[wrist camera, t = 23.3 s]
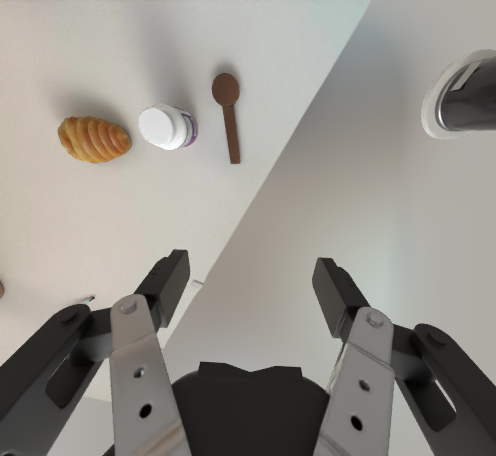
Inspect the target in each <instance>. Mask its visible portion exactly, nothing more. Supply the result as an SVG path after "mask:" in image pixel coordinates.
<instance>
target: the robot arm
mask: <svg viewBox="0 0 496 456" xmlns="http://www.w3.org/2000/svg"><path fill="white" fill-rule="evenodd" d="M435 118H436V121H437V123H438V125H439V126H440V127H441V128H442V129H444V130H446V131H453V132H454V131H474V130H477V131H481V130H496V56H494V57H491V58H487V59H482V60H479V61H476V62H473V63H470V64H468V65H466V66H464V67H463V68H461V69H460V70H459V71H457V72H456V73H455V74H454V75H453V76H452V77H451V78H450V79H449V80H448V81H447V83H446V84H445V85H444V87H443V88H442V90H441V92H440V94H439V96H438V99H437V102H436V106H435ZM189 276H190V266H189V258H188V251H187V250H177V249H174V250H173V251H172V252H171V254H170V255H169V257H164V258H162V259H161V260H159V261H158V262H157V263H156V264H155V265H154V267H153V268H152V270H151V271H150V272H149V273H148V275H147V276H146V277H145V279H144V280H143V281H142V283H141V284H140V285H139V287H138V288H137V290H136V291H135V292H134V294H132V295H128V296H126V297H123V298H122V299H120V300H118V301H117V302H116V303H115V304H114V305H113V306H112V307H111V308H106V309H101V310H96V311H91V310H90V308H89V306H87V305H85V304H76V305H72V306H69V307H66V308H64V309H62V310H60V311H59V312H57V313H56V314H54V315H53V316H52V317H51V318H50V319H49V320H48V321H47V322H46V323H45V324H44V325H43V326H42V327H41V328H40V329H39V330H38V331H37V332H36V333H35V334H34V335H33V336H31V337H30V338H29V339H28V340H27V341H26V342H25V343H24V344H23V345H22V346H21V347H20V348H19V349H18V350H17V351H16V352H15V353H14V354H13V355H12V356H11V357H10V358H9V359H8V360H7V361H6V362H5V363H4V364H3V365H2V366H1V367H0V456H47V454H48V452H49V451H50V449H51V447H52V446H53V444H54V442H55V441H56V439H57V437H58V436H59V434H60V432H61V431H62V429H63V427H64V426H65V424H66V422H67V421H68V419H69V417H70V416H71V414H72V412H73V411H74V409H75V407H76V406H77V404H78V402H79V401H80V399H81V397H82V396H83V394H84V392H85V391H86V389H87V387H88V386H89V384H90V382H91V381H92V379H93V377H94V376H95V374H96V372H97V371H98V369H99V367H100V366H101V364H102V362H103V361H104V359H107V358H109V362H110V379H111V395H112V410H113V425H114V426H113V427H114V444H113V445H112V446H111V447H110V449H108V450H107V452H105V453H104V455H103V456H388V450H389V438H390V426H391V415H392V402H393V391H394V379H395V380H396V382H397V384H398V386H399V388H400V390H401V392H402V394H403V396H404V398H405V400H406V401H407V403H408V406H409V407H410V409H411V411H412V413H413V415H414V417H415V419H416V421H417V423H418V425H419V427H420V428H421V431H422V432H423V434H424V436H425V438H426V440H427V442H428V444H429V446H430V448H431V450H432V452H433V453H434V456H496V386H495V385H494V384H493V383H492V382H491V381H490V380H489V378H488V377H486V375H485V374H484V373H483V372H482V371H481V370H480V369H479V367H478V366H477V365H476V364H475V363H474V362H473V361H472V360H471V359H470V358H469V356H468V355H467V354H466V353H465V352H464V351H463V350H462V349H461V347H460V346H459V345H458V344H457V343H456V342H455V341H454V340H453V339H452V338H451V337H450V336H449V335H448V334H446V333H444V332H443V331H442V330H440V329H438V328H436V327H434V326H431V325H428V324H418V325H416V326H415V328H414V329H413V330H411V329H408V328H404V327H401V326H398V325H395V324H393V323H392V322H391V321H390V319H389V318H388V317H387V316H386V315H384V314H383V313H382V312H380V311H379V310H377V309H374V308H371V306H370V305H369V303H368V302H367V300H366V299H365V297H364V296H363V294H362V293H361V291H360V290H359V288H358V287H357V286H356V284H355V283H354V281H353V279H352V278H351V277H350V275H349V274H348V272H346V271H345V270H344V269H343V268H341V267H337V265H336V263H335V262H334V260H333V259H332V258H318V259H317V262H316V266H315V270H314V274H313V278H312V283H313V288H314V290H315V293H316V296H317V298H318V301H319V304H320V306H321V309H322V312H323V314H324V317H325V319H326V322H327V325H328V327H329V330H330V333H331V335H332V338H341V339H342V342H343V344H342V347H341V349H340V352H339V355H338V358H337V361H336V363H335V367H334V369H333V372H332V375H331V378H330V380H329V383H328V385H327V388H326V390H324V389H323V388H322V387H320V386H319V385H318V384H316V383H315V382H313V381H311V380H310V379H307V378H305V377H303V376H302V371H301V367H286V366H274V367H270V368H266V369H262V370H258V371H254V372H248V371H245V370H242V369H240V368H237V367H234V366H232V365H229V364H226V363H214V362H200V366H199V369H198V370H197V371H194V372H191V373H189V374H186V375H185V376H183V377H181V378H180V379H178V380H177V381H175V382H174V383H173V384H172V385H171V383H170V380H169V376H168V373H167V369H166V366H165V362H164V359H163V356H162V352H161V349H160V345H159V342H158V338H157V335H156V334H157V332H158V330H159V328H167V327H168V325H169V323H170V321H171V318H172V316H173V314H174V312H175V309H176V307H177V305H178V303H179V300H180V298H181V296H182V294H183V291H184V289H185V287H186V285H187V282H188V280H189ZM64 359H65V360H64ZM63 360H64V361H63ZM61 363H62V364H61ZM60 364H61V365H60ZM57 368H58V369H57ZM56 369H57V370H56ZM54 372H55V373H54ZM53 373H54V374H53ZM50 377H51V378H50ZM436 379H437V380H438V382H439V383H440V385H441V386H442V388H443V389H444V390H445V392H446V393H447V395H448V396H449V398H450V399H451V401H452V402H453V404H454V406H455V409H456V412H455V411H454V409H453V408H452V406H451V405H450V403H449V402H448V401H447V399H446V397H445V396H444V394H443V393H442V392H441V390H440V389H439V387H438V386H437V384H436V383H435V380H436Z"/></svg>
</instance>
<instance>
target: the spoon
mask: <svg viewBox="0 0 496 456" xmlns="http://www.w3.org/2000/svg"><path fill="white" fill-rule="evenodd" d="M212 94H213V97H214V99H215V100H216V102H217V103H218V104H219V105H221V106H223V113H224V120H225V127H226V133H227V140H228V147H229V154H230V160H231V164H237V163H240V156H239V148H238V140H237V132H236V124H235V116H234V108H233V106H232V105H234V104H235V103H236V102H237V100H238V97H239V86H238V83H237V81H236V79H235V78H234V77H233V76H232V75H230V74H227V73H222V74H220V75H218V76H217V77H216V78H215V79H214V81H213V84H212Z"/></svg>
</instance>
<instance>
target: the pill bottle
mask: <svg viewBox="0 0 496 456" xmlns="http://www.w3.org/2000/svg"><path fill="white" fill-rule="evenodd" d="M138 122H139V129H140V131H141V133H142V135H143V136H144V138H145V139H146V140H147V141H149V142H150V143H152V144H154V145H157V146H158V147H160V148H162V149H166V150H172V149H177V148H182V147H186V146H189V145H191V144H192V143H193V142H194V141H195V140H196V137H197V134H198V128H197V124H196V122H195V120H194V118H193V117H192V116H191V115H190V114H189V113H188V112H186V111H184V110H182V109H179V108H176V107H173V106H171V105H168V104H155V105H153V106H151V107H150V108H146V109H145V110H143V111H142V112H141V114H140V116H139V121H138Z"/></svg>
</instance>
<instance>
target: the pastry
mask: <svg viewBox="0 0 496 456" xmlns="http://www.w3.org/2000/svg"><path fill="white" fill-rule="evenodd" d="M58 135H59V139H60V141H61V144H62V145H63V147H64V148H65V149H66V150H67V152H68V153H69V154H70V155H72V156H73V157H74V158H76V159H78V160H81V161H88V162H91V163H98V162H106V161H109V160H111V159H113V158H115V157H118V156H121V155H123V154H125V153H126V152H127V151H128V150H129V149H130V148H131V142H130V138H129V136H128V135H127V133H126V132H125V131H124V130H123V129H122V128H121V127H120V126H119V125H117V124H113V123H109V122H107V121H106V120H101V119H96V118H93V117H91V116H87V117H82V118H75V117H70V118H65V119H64V121H63V122H62V123H61V126H60V127H58Z"/></svg>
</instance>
